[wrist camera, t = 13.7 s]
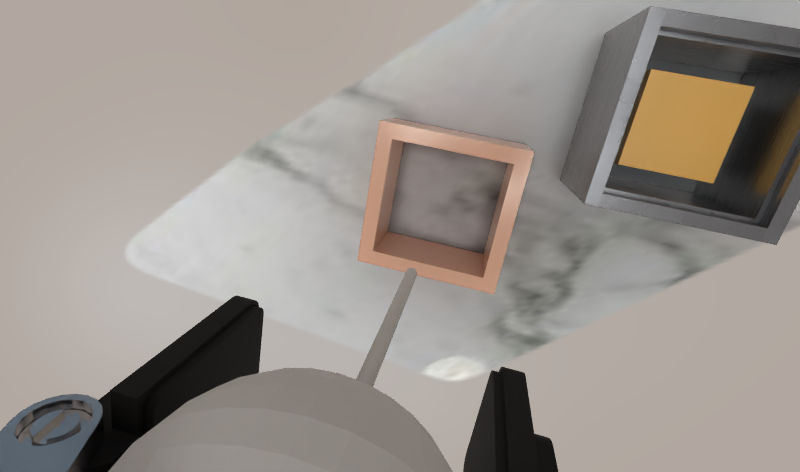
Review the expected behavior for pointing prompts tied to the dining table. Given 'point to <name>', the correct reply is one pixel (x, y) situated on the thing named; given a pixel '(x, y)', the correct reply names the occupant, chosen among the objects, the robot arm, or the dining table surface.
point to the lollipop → (294, 423)
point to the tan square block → (682, 125)
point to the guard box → (751, 145)
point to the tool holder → (429, 255)
